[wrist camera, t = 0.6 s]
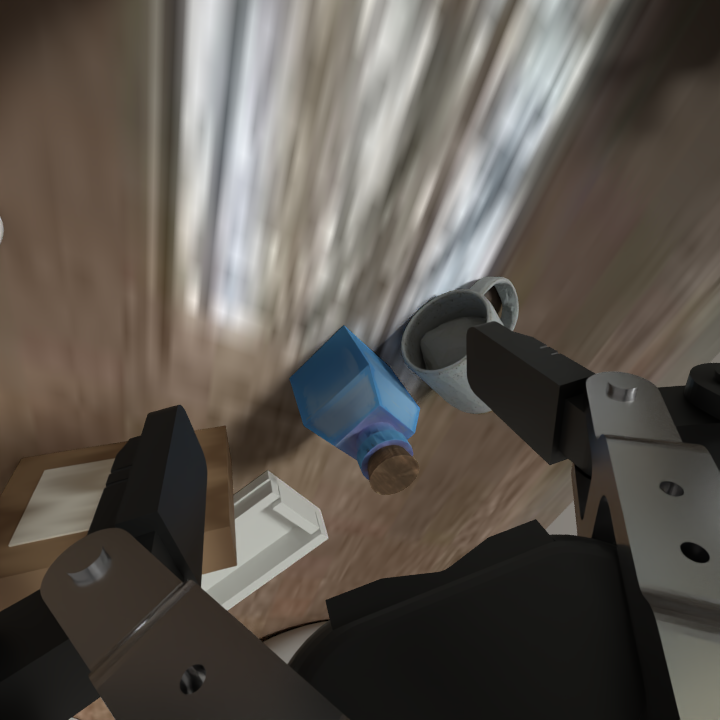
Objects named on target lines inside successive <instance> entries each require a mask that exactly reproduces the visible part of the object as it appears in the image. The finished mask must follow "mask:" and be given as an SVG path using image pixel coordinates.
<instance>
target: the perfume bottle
mask: <svg viewBox="0 0 720 720" xmlns="http://www.w3.org/2000/svg"><path fill="white" fill-rule="evenodd" d="M289 379H290V382H291V385H292V389H293V392H294V395H295V399H296V402H297V405H298V408H299V412H300V415H301V418H302V422H303V425H304V426H305V427H306V428H308V429H309V430H311V431H312V432H314V433H315V434H317V435H318V436H320V437H322V438H323V439H325V440H326V441H328V442H329V443H331V444H332V445H334V446H335V447H337V448H338V449H340V450H342V451H343V452H345V453H346V454H348V455H349V456H351V457H353V458H354V459H356V460H357V461H358V464H359V466H360V469H361V471H362V473H363V475H364V476H365V477H366V478H367V479H368V480H369V481H370V485H371V488H372V490H374V491H375V492H376V493H378V494H381V495H390V494H395V493H398V492H400V491H402V490H404V489H405V488H407V487H408V486H410V485H411V484H412V483H413V481H414V480H415V479H416V477H417V475H418V472H419V464H418V462H417V461H416V460H415V458H414V457H413V451H412V447H411V446H410V444H409V442H408V441H407V439H409V438H410V437H411V436H412V435H413V434H414V433H415V430H416V425H417V420H418V416H419V411H420V408H419V406H418V405H417V404H416V402H415V401H414V399H413V398H412V397H411V395H410V394H409V393H408V391H407V390H406V388H405V387H404V386H403V384H402V383H401V382H400V380H399V379H398V377H397V376H396V375H395V373H394V372H393V371H392V369H391V368H390V367H389V366H388V365H387V364H386V363H385V362H384V361H383V360H382V359H380V358H379V357H378V356H377V355H376V354H375V353H374V352H373V351H372V350H371V349H369V348H368V347H367V346H366V345H365V344H364V343H363V342H362V341H361V340H360V339H358V338H357V337H356V336H355V335H354V334H353V333H352V332H351V331H350V330H349V329H347V328H346V327H345V326H344V325H343V326H342V327H341V328H340V329H339V330H338V331H337V332H336V333H335V334H334V335H333V336H332V337H331V338H330V339H329V340H328V341H327V342H326V343H325V344H324V345H323V346H322V347H321V348H320V349H319V350H318V351H317V352H316V353H315V354H314V355H313V356H312V357H311V358H310V359H309V360H308V361H307V362H306V363H305V364H304V365H303V366H302V367H301V368H300V369H298V370H297V371H296V372H295V373H294V374H293V375H292V376H291V377H290V378H289Z"/></svg>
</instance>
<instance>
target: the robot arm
mask: <svg viewBox="0 0 720 720" xmlns="http://www.w3.org/2000/svg"><path fill="white" fill-rule="evenodd" d="M466 360H467V379H468V383H469V386H470V388H471V390H472V391H473V392H474V394H475V395H476V396H477V397H478V398H479V399H481V400H482V401H483V402H484V403H485V404H486V405H487V406H488V407H489V408H490V409H491V410H492V411H493V412H494V413H495V414H496V415H497V416H498V417H500V418H501V419H502V420H503V421H504V422H505V423H506V424H507V425H508V426H509V427H510V428H511V429H512V430H513V431H514V432H515V433H516V434H517V435H518V436H520V437H521V438H522V439H523V440H524V441H525V442H526V443H527V444H528V445H529V446H530V447H531V448H532V449H533V450H534V451H535V452H536V453H537V454H539V455H540V456H541V457H542V458H543V459H544V460H545V461H546V462H547V463H548V464H549V465H552V464H555V463H557V462H560V461H563V460H566V459H569V460H571V461H572V462H573V464H572V470H571V477H572V486H573V496H574V505H575V513H576V524H577V536H574V535H549V534H548V533H547V532H546V530H545V529H544V528H543V527H542V526H541V525H540V523H539V522H538V521H537V520H536V519H535V520H533V521H530V522H527V523H525V524H522V525H520V526H517V527H514V528H512V529H509V530H507V531H504V532H501V533H499V534H496V535H494V536H491V537H488V538H487V539H486V540H485V541H483V542H482V543H481V544H479V545H478V546H477V547H475V548H474V549H473V550H471V551H470V552H469V553H467V554H466V555H465V556H463V557H462V558H461V559H460V560H458V561H457V562H456V563H454V564H453V565H452V566H450V567H449V568H447V569H446V570H444V571H441V572H435V573H426V574H417V575H409V576H400V577H391V578H383V579H379V580H377V581H374V582H372V583H369V584H366V585H364V586H361V587H359V588H356V589H353V590H351V591H348V592H346V593H343V594H340V595H338V596H335V597H333V598H330V599H327V600H326V605H327V609H328V613H329V618H330V620H329V621H327V622H326V623H325V624H323V625H322V626H321V627H319V628H318V629H317V630H316V631H315V632H314V633H313V634H312V635H311V636H310V637H309V638H307V639H306V641H305V642H304V643H303V644H302V645H301V646H300V648H299V649H298V650H297V651H296V652H295V654H294V655H293V656H292V658H291V659H290V661H289V662H288V664H287V663H285V662H284V661H283V660H282V659H281V658H280V657H279V656H278V655H276V654H275V653H274V652H273V651H272V650H271V649H270V648H269V647H267V646H266V645H265V644H264V643H263V642H262V641H261V640H260V639H258V638H257V637H256V636H255V635H254V634H253V633H252V632H251V631H249V630H248V629H247V628H246V627H245V626H244V625H243V624H242V623H240V622H239V621H238V620H237V619H236V618H235V617H234V616H233V615H231V614H230V613H229V612H228V611H227V610H226V609H225V608H224V607H222V606H221V605H220V604H219V603H218V602H217V601H216V600H215V599H213V598H212V597H211V596H210V595H209V594H208V593H207V592H205V591H204V590H203V589H202V588H201V580H202V563H203V545H204V528H205V510H206V492H207V464H206V460H205V456H204V453H203V450H202V448H201V446H200V443H199V441H198V439H197V436H196V434H195V432H194V430H193V427H192V425H191V423H190V420H189V418H188V416H187V414H186V411H185V410H184V408H183V407H182V406H181V405H177V406H173V407H169V408H166V409H162V410H158V411H154V412H151V413H149V414H148V415H147V418H146V421H145V425H144V428H143V431H142V434H141V436H138V437H134V438H131V439H130V440H129V441H128V442H127V443H126V444H125V445H124V447H123V448H122V449H121V450H120V451H119V452H118V453H117V455H116V457H115V460H114V463H113V465H112V468H111V474H109V476H108V479H107V482H106V484H105V485H106V488H104V490H103V493H102V495H101V498H100V501H99V503H98V506H97V509H96V512H95V514H94V517H93V520H92V522H91V525H90V528H89V531H88V533H87V536H85V537H83V538H82V539H80V540H78V541H77V542H75V543H74V544H72V545H71V546H70V547H69V548H67V549H66V550H65V551H64V552H63V553H62V554H61V555H59V556H58V557H57V559H56V560H55V561H54V562H53V563H52V564H51V566H50V567H49V569H48V570H47V572H46V574H45V575H44V577H43V580H42V583H41V588H40V589H39V590H37V591H36V592H34V593H32V594H31V595H29V596H27V597H25V598H23V599H22V600H20V601H18V602H16V603H15V604H13V605H11V606H9V607H8V608H6V609H4V610H2V611H0V720H69V719H70V718H71V717H73V716H74V715H76V714H77V713H78V712H80V711H81V710H83V709H84V708H85V707H87V706H88V705H90V704H91V703H92V702H94V701H95V700H97V699H98V698H99V697H101V698H102V700H103V701H104V703H105V704H106V706H107V707H108V709H109V710H110V712H111V713H112V715H113V717H114V718H115V720H720V363H706V364H701V365H697V366H695V367H693V368H692V369H691V370H690V374H689V377H688V380H687V383H686V386H673V387H660V388H657V387H656V386H655V385H654V384H653V383H651V382H650V381H648V380H646V379H644V378H642V377H639V376H636V375H633V374H629V373H623V372H602V373H598V374H595V373H593V372H592V371H590V370H588V369H586V368H585V367H583V366H581V365H580V364H578V363H576V362H574V361H573V360H571V359H569V358H568V357H566V356H564V355H562V354H561V353H560V354H558V352H557V351H556V350H554V349H552V348H550V347H547V345H545V344H544V343H542V342H540V341H538V340H537V339H535V338H533V337H530V336H527V335H523V334H520V333H516V332H513V331H511V330H510V329H508V328H506V327H505V326H503V325H501V324H500V323H498V322H496V321H491V322H488V323H484V324H480V325H477V326H473V327H470V328H469V329H468V330H467V334H466Z"/></svg>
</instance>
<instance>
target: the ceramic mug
mask: <svg viewBox="0 0 720 720" xmlns="http://www.w3.org/2000/svg"><path fill="white" fill-rule="evenodd" d="M492 286H495V288H496V290H497V292H498V294H499V296H500V298H501V302H502V307H503V309H502V316H501V319H500V318H499V317H498V315H497V313H496V311H495V309H494V308H493V306H492V305H491V303H490V302H489V300H488V299H487V298H486V297H485V296H484V294H485V293H486V292H487V291H488V290H489V289H490V288H491V287H492ZM518 309H519V308H518V297H517V293H516V290H515V288H514V286H513V284H512V283H511V282H510V281H509V280H508V279H506V278H503V277H485V278H482V279H480V280H478V281H477V282H476V283H475V284H474V285H473V286H472V287H471V288H470V289H460V290H454V291H449V292H447V293H444V294H442V295H439V296H437V297H436V298H434V299H433V300H431V301H429V302H428V303H427V304H426V305H424V306H423V307H422V308H421V309H420V310H419V311H418V312H417V313H416V314H415V315H414V316H413V317H412V319H411V320H410V322H409V323H408V325H407V326H406V329H405V331H404V333H403V336H402V341H401V352H402V356H403V359H404V361H405V363H406V364H407V366H408V367H409V368H410V369H411V370H412V371H413V372H414V373H416V374H417V375H418V376H419V377H420V378H421V379H422V380H423V381H424V382H425V383H427V384H428V385H429V386H430V387H431V388H432V389H433V390H435V391H436V392H437V393H438V394H439V395H440V396H441V397H442V398H443V399H444V400H445V401H447V402H448V403H449V404H450V405H452V406H454V407H455V408H457V409H459V410H461V411H463V412H467V413H472V414H485V413H490V412H493V411H492V410H491V409H490V408H489V407H488V406H487V405H486V404H485V403H484V402H483V401H482V400H481V399H479V398H478V397H477V396H476V395H475V394H474V392H473V391H472V390H471V388H470V386H469V383H468V379H467V360H466V334H467V330H468V329H469V328H470V327H473V326H477V325H480V324H484V323H488V322H491V321H496V322H498V323H500V324H501V325H503V326H505V327H506V328H508V329H510V330H511V331H513V330H514V328H515V324H516V321H517V319H518Z"/></svg>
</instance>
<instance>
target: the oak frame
mask: <svg viewBox="0 0 720 720" xmlns="http://www.w3.org/2000/svg"><path fill="white" fill-rule="evenodd" d="M194 432H195V434H196V436H197V439H198V441H199V443H200V446H201V448H202V450H203V453H204V456H205V460H206V464H207V492H206V510H205V528H204V545H203V563H202V575H203V574H207V573H211V572H214V571H218V570H222V569H226V568H230V567H234V566H237V552H236V534H235V516H234V498H233V480H232V462H231V456H230V450H229V444H228V438H227V432H226V426H221V427H214V428H208V429H202V430H196V431H194ZM127 442H128V441H126V442H120V443H114V444H107V445H101V446H95V447H88V448H82V449H76V450H69V451H63V452H57V453H51V454H44V455H38V456H32V457H25V458H22V459H21V461H20V462H19V464H18V466H17V468H16V469H15V471H14V473H13V475H12V477H11V478H10V480H9V482H8V484H7V485H6V487H5V489H4V491H3V492H2V494H1V496H0V611H2V610H4V609H6V608H8V607H9V606H11V605H13V604H15V603H16V602H18V601H20V600H22V599H23V598H25V597H27V596H29V595H31V594H32V593H34V592H36V591H37V590H39V589H40V588H41V583H42V580H43V577H44V575H45V574H46V572H47V570H48V569H49V567H50V566H51V564H52V563H53V562H54V561H55V560H56V559H57V557H58V556H59V555H61V554H62V553H63V552H64V551H65V550H66V549H67V548H69V547H70V546H71V545H72V544H74V543H75V542H77V541H78V540H80V539H82V538H83V537H85V536H87V533H88V531H89V528H90V525H91V522H92V520H93V517H94V514H95V512H96V509H97V506H98V503H99V501H100V498H101V495H102V493H103V490H104V488H106V485H105V484H106V482H107V479H108V476H109V474H111V468H112V465H113V463H114V460H115V457H116V455H117V453H118V452H119V451H120V450H121V449H122V448H123V447H124V445H125V444H126V443H127Z"/></svg>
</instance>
